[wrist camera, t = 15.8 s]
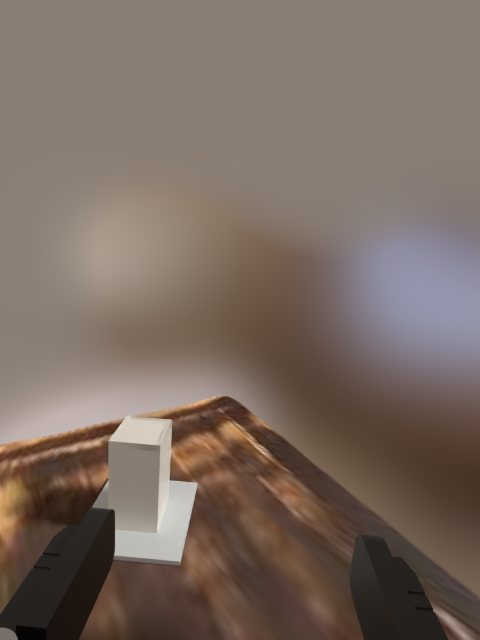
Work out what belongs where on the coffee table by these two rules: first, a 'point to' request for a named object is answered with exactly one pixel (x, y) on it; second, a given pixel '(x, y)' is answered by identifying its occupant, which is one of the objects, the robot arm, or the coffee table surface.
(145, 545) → the grey mat
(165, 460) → the cream box
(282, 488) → the coffee table surface
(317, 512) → the coffee table surface
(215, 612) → the coffee table surface
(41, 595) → the robot arm
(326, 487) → the coffee table surface
